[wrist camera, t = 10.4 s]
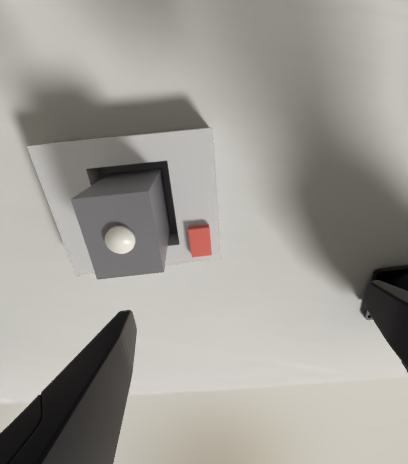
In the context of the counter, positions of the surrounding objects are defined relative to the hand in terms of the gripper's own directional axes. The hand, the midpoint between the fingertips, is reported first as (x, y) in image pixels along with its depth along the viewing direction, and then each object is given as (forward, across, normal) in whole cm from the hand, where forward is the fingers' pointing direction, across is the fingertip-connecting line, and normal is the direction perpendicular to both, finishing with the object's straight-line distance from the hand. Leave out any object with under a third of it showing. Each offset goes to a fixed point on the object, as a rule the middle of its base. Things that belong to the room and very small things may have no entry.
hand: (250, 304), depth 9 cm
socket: (+12, +6, -1) cm, 14 cm away
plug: (+12, +6, -1) cm, 14 cm away
